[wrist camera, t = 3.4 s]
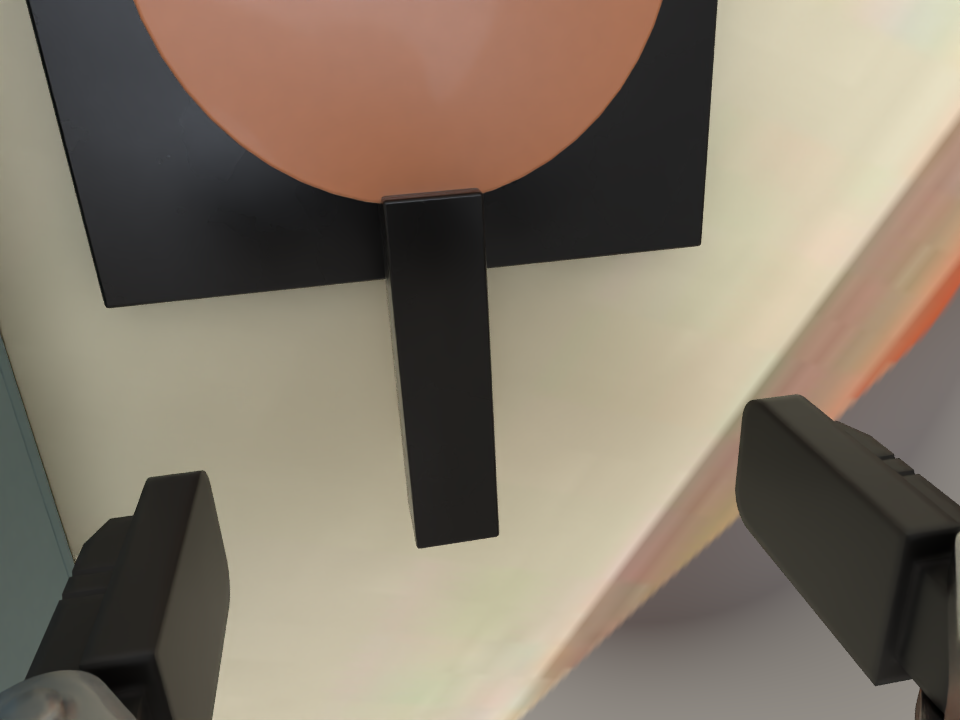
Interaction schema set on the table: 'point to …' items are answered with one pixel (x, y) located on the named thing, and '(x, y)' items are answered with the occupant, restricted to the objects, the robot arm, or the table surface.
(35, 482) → the basin
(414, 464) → the pan
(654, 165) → the plate
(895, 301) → the table surface
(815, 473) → the robot arm
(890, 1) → the table surface
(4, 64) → the table surface
